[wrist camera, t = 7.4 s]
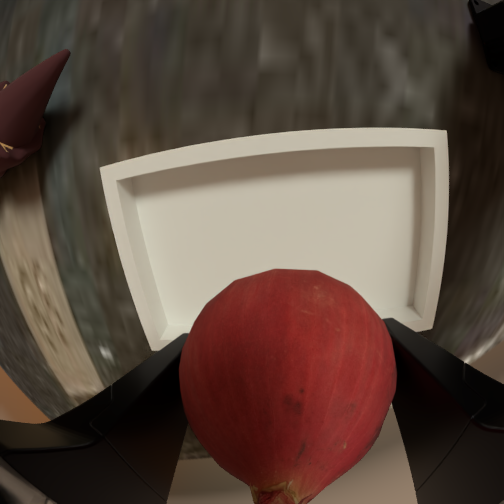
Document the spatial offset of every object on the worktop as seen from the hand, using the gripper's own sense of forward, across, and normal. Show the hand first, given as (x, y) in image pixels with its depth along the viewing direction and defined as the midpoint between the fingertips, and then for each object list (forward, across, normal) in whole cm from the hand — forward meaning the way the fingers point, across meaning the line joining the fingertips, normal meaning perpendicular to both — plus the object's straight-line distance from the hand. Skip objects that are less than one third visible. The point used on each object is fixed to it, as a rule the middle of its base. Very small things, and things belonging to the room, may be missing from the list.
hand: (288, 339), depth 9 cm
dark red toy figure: (+10, +18, -12) cm, 24 cm away
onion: (+2, 0, 0) cm, 2 cm away
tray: (+10, 0, 0) cm, 10 cm away
